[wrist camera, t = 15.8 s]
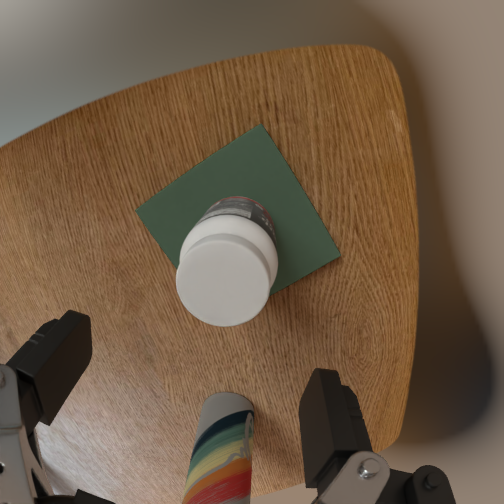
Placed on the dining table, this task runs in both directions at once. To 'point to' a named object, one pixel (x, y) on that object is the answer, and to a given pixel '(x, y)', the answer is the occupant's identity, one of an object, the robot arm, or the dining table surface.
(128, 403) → the dining table surface
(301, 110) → the dining table surface
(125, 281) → the dining table surface
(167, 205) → the mat
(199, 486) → the lotion bottle
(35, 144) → the dining table surface
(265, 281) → the pill bottle
